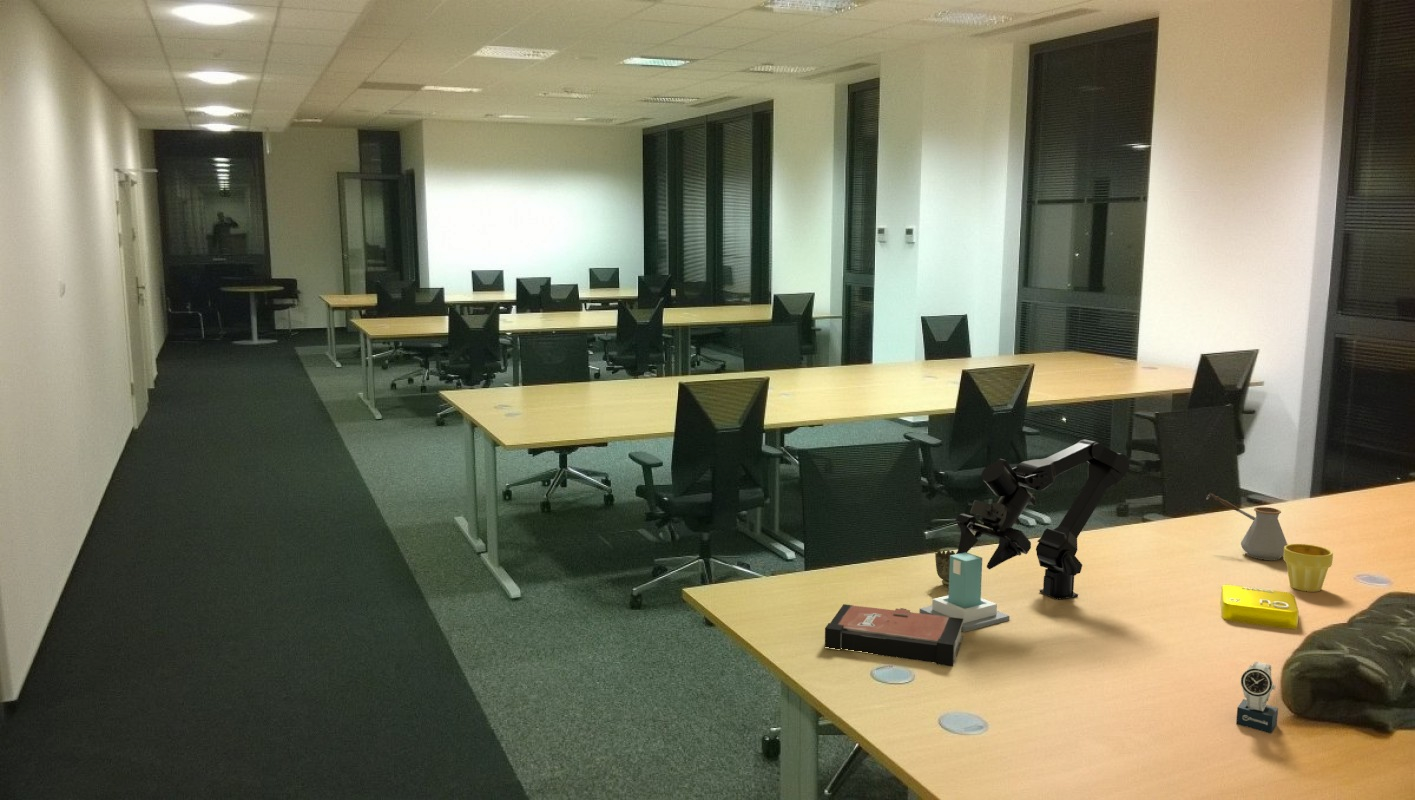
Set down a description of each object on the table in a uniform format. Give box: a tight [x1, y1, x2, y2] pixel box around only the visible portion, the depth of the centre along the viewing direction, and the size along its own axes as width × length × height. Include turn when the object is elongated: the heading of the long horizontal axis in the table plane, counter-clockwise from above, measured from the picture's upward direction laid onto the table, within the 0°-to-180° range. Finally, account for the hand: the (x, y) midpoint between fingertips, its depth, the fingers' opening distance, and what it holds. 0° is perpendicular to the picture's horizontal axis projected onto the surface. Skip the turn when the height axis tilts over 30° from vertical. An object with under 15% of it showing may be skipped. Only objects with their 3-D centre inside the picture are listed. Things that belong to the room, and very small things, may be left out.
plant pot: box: [1283, 543, 1334, 593], centre depth 251 cm, size 10×10×10 cm
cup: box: [934, 550, 957, 588], centre depth 253 cm, size 8×7×8 cm
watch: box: [1235, 661, 1279, 734], centre depth 179 cm, size 6×8×11 cm
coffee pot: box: [1205, 492, 1289, 561], centre depth 279 cm, size 21×12×15 cm, turn 46°
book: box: [824, 604, 964, 667], centre depth 217 cm, size 26×18×5 cm
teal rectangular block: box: [948, 552, 983, 609], centre depth 231 cm, size 5×5×13 cm
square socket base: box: [918, 594, 1010, 633], centre depth 232 cm, size 14×14×4 cm
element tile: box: [1220, 584, 1300, 630], centre depth 233 cm, size 15×15×5 cm
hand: (972, 562), depth 231 cm, fingers open, 9 cm apart
